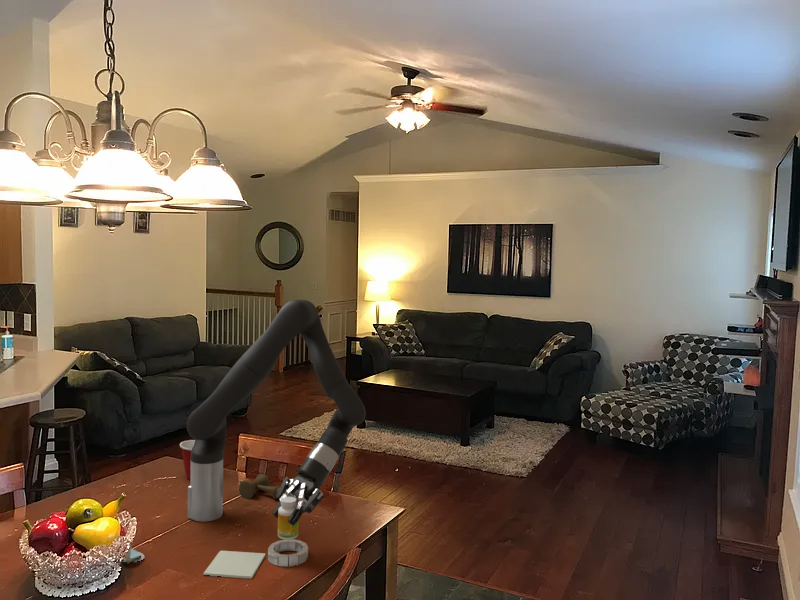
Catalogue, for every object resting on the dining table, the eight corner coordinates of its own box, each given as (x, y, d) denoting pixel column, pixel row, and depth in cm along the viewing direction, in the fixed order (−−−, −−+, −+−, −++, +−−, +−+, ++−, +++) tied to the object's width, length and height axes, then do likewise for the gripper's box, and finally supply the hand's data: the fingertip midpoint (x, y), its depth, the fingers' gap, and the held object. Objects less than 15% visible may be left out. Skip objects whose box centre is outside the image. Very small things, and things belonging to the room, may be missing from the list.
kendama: (279, 509, 202) (228, 494, 211) (297, 499, 211) (248, 486, 219) (280, 490, 202) (229, 476, 210) (298, 481, 210) (249, 468, 219)
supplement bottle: (294, 541, 167) (295, 504, 166) (274, 538, 168) (275, 502, 167) (301, 532, 172) (302, 496, 171) (282, 529, 173) (282, 494, 172)
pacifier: (135, 551, 171) (112, 559, 166) (135, 528, 171) (113, 535, 166) (149, 561, 166) (127, 568, 162) (150, 537, 166) (127, 544, 161)
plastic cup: (210, 482, 221) (211, 447, 220) (177, 483, 219) (177, 448, 218) (213, 471, 231) (213, 438, 230) (181, 472, 229) (181, 439, 228)
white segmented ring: (263, 565, 166) (263, 555, 165) (274, 547, 175) (274, 538, 175) (302, 567, 165) (302, 558, 165) (310, 549, 175) (311, 540, 175)
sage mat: (203, 575, 159) (203, 573, 159) (220, 552, 171) (220, 550, 171) (251, 578, 159) (251, 576, 159) (265, 555, 171) (265, 553, 171)
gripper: (293, 450, 178) (257, 505, 170) (330, 463, 169) (293, 521, 161) (307, 464, 183) (272, 518, 175) (344, 478, 174) (309, 535, 166)
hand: (283, 519), depth 168 cm, fingers closed on supplement bottle, 5 cm apart
